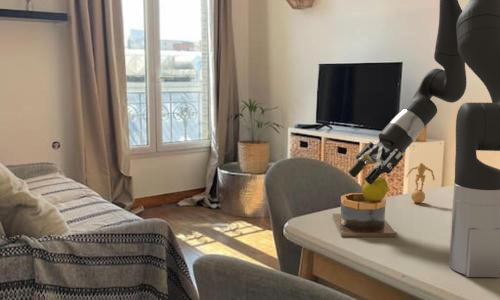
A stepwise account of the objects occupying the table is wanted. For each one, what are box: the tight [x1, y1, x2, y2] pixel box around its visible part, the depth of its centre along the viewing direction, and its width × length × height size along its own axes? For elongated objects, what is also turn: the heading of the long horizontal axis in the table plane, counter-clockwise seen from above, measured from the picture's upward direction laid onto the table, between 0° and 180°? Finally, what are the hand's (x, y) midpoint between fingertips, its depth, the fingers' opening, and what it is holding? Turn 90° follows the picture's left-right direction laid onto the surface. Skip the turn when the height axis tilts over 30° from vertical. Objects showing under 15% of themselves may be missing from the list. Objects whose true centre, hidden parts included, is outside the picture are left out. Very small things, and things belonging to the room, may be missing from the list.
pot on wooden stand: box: [331, 192, 397, 238], centre depth 126 cm, size 16×13×8 cm
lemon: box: [361, 176, 389, 202], centre depth 123 cm, size 6×6×8 cm
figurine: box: [405, 162, 436, 204], centre depth 149 cm, size 8×6×12 cm
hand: (359, 178), depth 124 cm, fingers open, 8 cm apart
